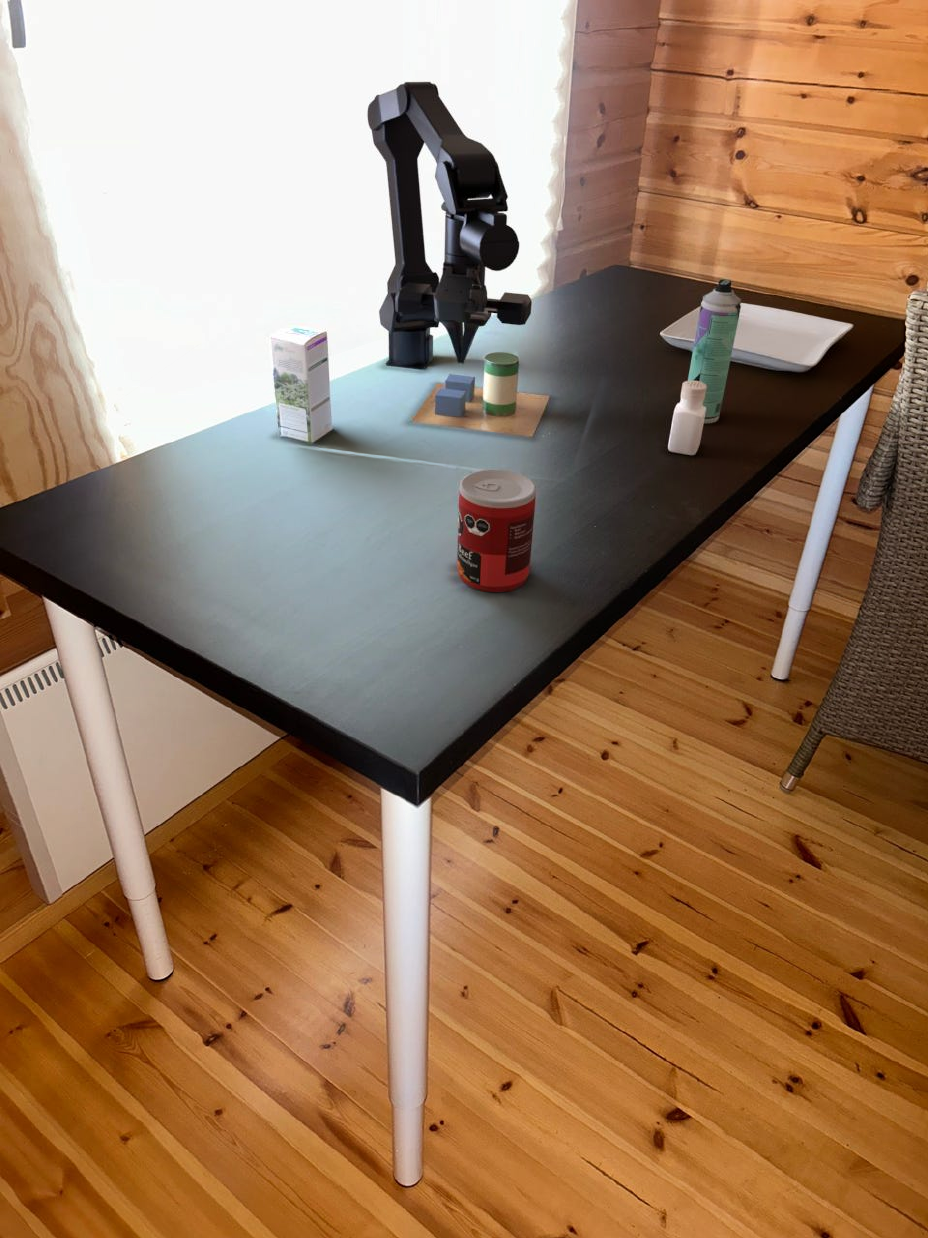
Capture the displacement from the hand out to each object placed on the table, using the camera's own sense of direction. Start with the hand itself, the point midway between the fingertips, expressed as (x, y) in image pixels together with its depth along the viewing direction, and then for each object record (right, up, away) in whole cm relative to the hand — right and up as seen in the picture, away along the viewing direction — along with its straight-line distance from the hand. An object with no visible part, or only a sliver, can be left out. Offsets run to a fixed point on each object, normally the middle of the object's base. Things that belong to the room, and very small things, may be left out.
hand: (461, 362), depth 139 cm
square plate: (+53, +11, +31) cm, 62 cm away
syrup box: (-22, -12, -6) cm, 26 cm away
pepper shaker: (+31, -14, -6) cm, 35 cm away
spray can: (+36, -7, +4) cm, 37 cm away
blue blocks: (-1, -5, +4) cm, 7 cm away
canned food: (+4, -33, -35) cm, 48 cm away
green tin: (+2, -5, +3) cm, 6 cm away
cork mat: (+3, -6, +3) cm, 8 cm away
